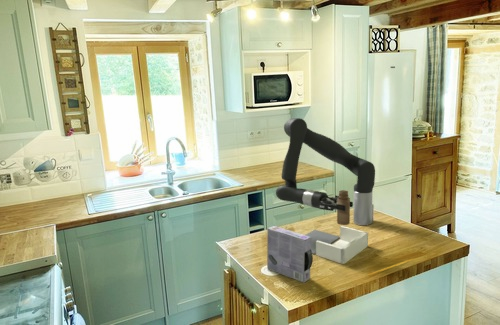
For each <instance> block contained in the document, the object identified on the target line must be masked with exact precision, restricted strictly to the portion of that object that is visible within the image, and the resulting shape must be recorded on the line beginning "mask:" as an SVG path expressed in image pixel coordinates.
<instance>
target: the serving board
mask: <svg viewBox="0 0 500 325" xmlns="http://www.w3.org/2000/svg"><path fill="white" fill-rule="evenodd" d="M305 235H306V236H309V237H311V251H312V255H313V256H314V255H316V241H317V240H318V241H321V242H325V243H328V244H331V245H332V244H334V243H335V242H337V241H338V240H340V235H336V234H332V233H328V232H325V231H322V230H318V229H314V230H311V231H310V232H308V233H306V234H305Z"/></svg>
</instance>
